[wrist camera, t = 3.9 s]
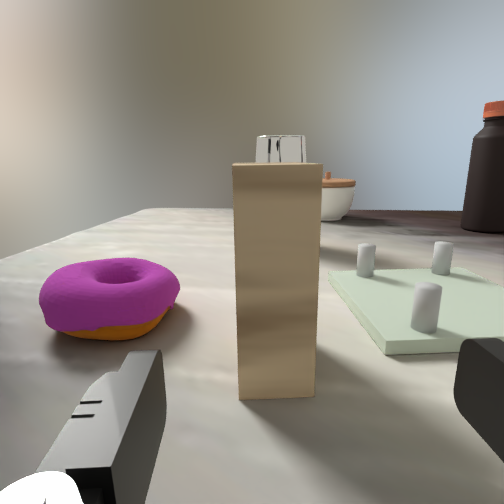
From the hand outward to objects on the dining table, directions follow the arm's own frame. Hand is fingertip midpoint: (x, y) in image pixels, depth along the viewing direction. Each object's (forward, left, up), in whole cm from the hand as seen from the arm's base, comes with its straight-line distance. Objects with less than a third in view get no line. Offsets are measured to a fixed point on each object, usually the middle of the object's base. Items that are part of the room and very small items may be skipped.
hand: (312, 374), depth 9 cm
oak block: (+6, +10, -7) cm, 13 cm away
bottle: (+59, +22, -7) cm, 63 cm away
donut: (-1, +22, -7) cm, 23 cm away
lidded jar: (+46, +46, -7) cm, 65 cm away
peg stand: (+22, +9, -7) cm, 24 cm away
